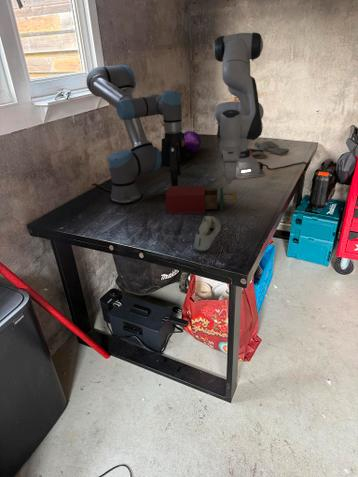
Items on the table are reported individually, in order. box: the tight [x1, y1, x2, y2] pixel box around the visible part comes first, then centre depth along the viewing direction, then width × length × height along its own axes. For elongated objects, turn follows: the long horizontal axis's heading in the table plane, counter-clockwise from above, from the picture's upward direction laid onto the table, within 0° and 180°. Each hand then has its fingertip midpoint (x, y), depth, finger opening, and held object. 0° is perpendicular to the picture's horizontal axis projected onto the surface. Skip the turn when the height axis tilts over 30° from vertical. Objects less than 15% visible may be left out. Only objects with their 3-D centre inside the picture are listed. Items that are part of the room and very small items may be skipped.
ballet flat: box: [193, 215, 222, 253], centre depth 127 cm, size 8×24×8 cm, turn 163°
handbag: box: [160, 132, 188, 167], centre depth 211 cm, size 21×9×25 cm, turn 148°
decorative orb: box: [183, 130, 202, 154], centre depth 230 cm, size 15×15×15 cm
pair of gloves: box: [247, 140, 290, 159], centre depth 223 cm, size 30×26×5 cm
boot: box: [216, 121, 221, 148], centre depth 246 cm, size 9×24×20 cm, turn 168°
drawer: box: [205, 187, 238, 212], centre depth 150 cm, size 22×10×7 cm, turn 85°
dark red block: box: [165, 185, 206, 215], centre depth 152 cm, size 17×11×9 cm, turn 85°
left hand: (176, 180), depth 147 cm, fingers open, 13 cm apart
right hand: (229, 182), depth 146 cm, fingers closed
